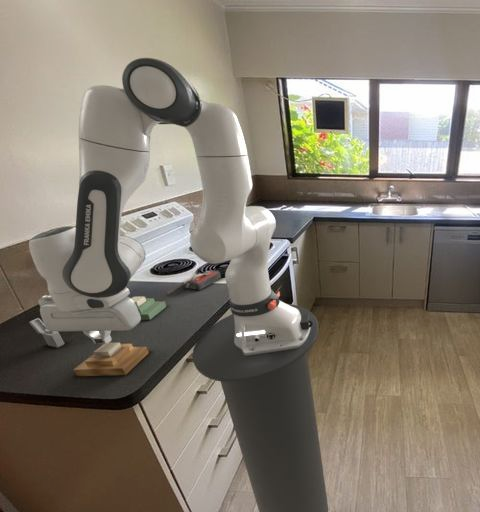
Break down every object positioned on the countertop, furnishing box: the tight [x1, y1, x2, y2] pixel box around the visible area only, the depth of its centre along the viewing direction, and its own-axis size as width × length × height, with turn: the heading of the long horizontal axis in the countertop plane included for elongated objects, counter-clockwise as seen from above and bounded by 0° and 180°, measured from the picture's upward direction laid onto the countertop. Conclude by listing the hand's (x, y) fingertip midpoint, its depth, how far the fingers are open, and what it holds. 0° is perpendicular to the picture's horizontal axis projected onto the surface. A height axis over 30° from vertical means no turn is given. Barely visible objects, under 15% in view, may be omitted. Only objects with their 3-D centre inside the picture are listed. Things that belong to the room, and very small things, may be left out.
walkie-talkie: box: [165, 269, 222, 296], centre depth 115 cm, size 9×4×20 cm
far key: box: [130, 295, 146, 307], centre depth 96 cm, size 4×4×2 cm
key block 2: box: [137, 297, 167, 321], centre depth 97 cm, size 12×8×4 cm, turn 92°
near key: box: [93, 342, 122, 358], centre depth 74 cm, size 4×4×2 cm
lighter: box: [29, 317, 65, 349], centre depth 82 cm, size 7×2×8 cm, turn 75°
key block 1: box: [73, 343, 149, 377], centre depth 75 cm, size 12×8×4 cm, turn 92°
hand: (103, 342), depth 73 cm, fingers closed
